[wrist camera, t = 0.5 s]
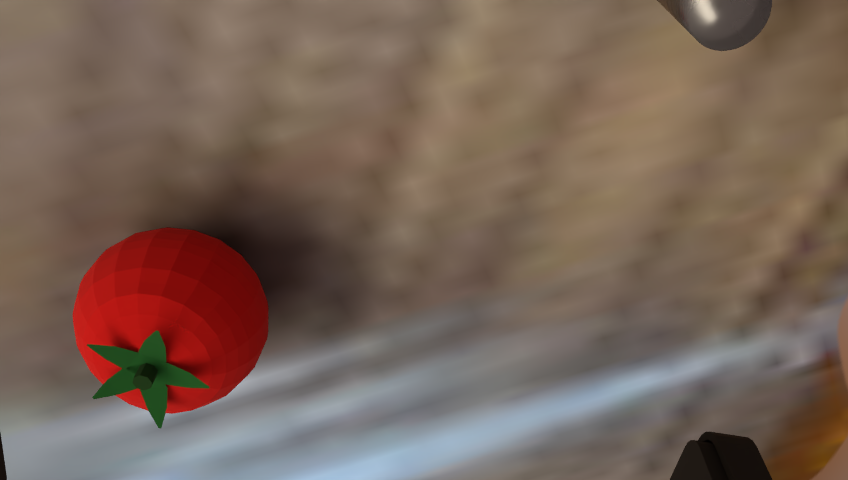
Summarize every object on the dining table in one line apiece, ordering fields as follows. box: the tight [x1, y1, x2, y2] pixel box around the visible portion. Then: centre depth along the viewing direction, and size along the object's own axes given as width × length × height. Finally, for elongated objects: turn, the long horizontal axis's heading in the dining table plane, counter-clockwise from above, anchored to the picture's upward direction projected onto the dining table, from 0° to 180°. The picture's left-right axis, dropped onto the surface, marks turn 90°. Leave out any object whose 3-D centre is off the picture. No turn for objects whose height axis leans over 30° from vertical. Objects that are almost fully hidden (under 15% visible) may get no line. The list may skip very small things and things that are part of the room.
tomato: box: [73, 227, 268, 428], centre depth 43 cm, size 10×10×10 cm
